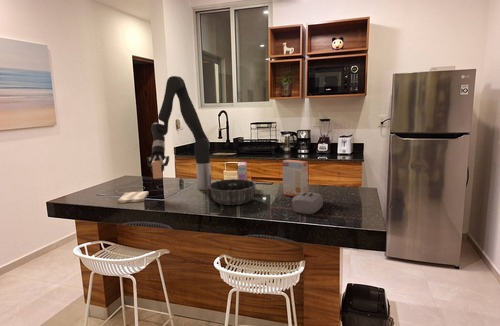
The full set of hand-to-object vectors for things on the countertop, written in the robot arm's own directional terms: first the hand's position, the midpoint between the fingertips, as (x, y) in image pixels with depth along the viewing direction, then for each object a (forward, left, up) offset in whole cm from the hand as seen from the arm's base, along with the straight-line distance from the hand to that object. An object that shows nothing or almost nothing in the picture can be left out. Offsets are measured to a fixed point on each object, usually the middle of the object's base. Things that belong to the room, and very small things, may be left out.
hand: (157, 171), depth 189 cm
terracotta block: (0, -2, -4) cm, 5 cm away
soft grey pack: (-80, +39, -16) cm, 91 cm away
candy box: (-52, -11, -16) cm, 56 cm away
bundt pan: (-43, +18, -16) cm, 49 cm away
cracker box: (-80, +15, -16) cm, 83 cm away
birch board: (+15, -2, -16) cm, 22 cm away
